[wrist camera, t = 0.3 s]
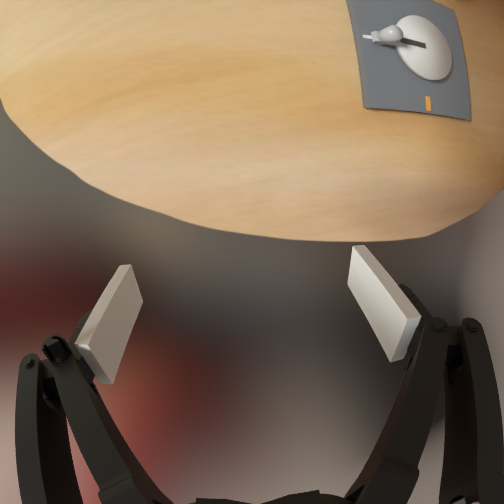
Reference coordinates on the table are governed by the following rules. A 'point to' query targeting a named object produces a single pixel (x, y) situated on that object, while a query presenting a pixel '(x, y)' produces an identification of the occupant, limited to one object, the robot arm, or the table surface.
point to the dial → (418, 46)
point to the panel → (394, 70)
